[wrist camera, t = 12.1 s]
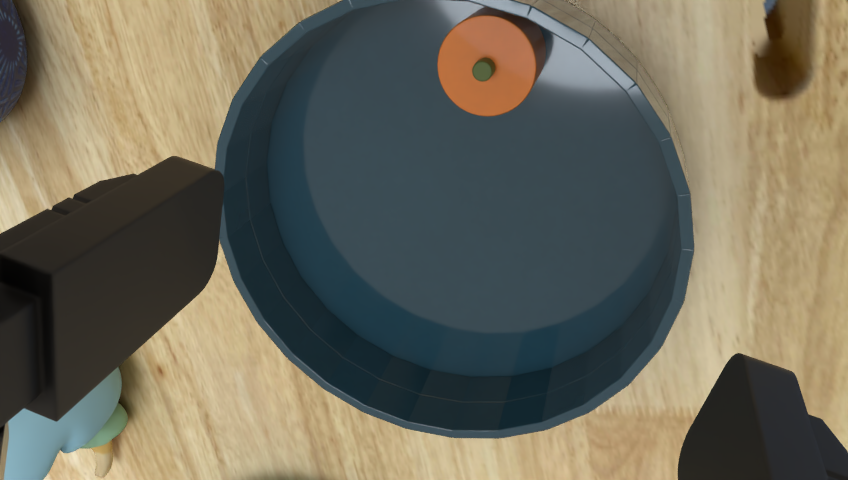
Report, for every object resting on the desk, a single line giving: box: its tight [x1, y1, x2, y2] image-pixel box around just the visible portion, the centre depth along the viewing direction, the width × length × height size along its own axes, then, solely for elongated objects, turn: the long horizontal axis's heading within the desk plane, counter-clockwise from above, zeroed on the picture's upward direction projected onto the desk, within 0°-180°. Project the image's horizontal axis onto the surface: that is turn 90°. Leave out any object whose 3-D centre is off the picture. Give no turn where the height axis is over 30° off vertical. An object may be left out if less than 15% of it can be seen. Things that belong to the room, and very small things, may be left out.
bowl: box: [215, 0, 694, 438], centre depth 33 cm, size 21×21×5 cm
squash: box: [437, 7, 546, 116], centre depth 29 cm, size 4×4×4 cm
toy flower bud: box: [4, 367, 128, 480], centre depth 44 cm, size 7×9×12 cm
